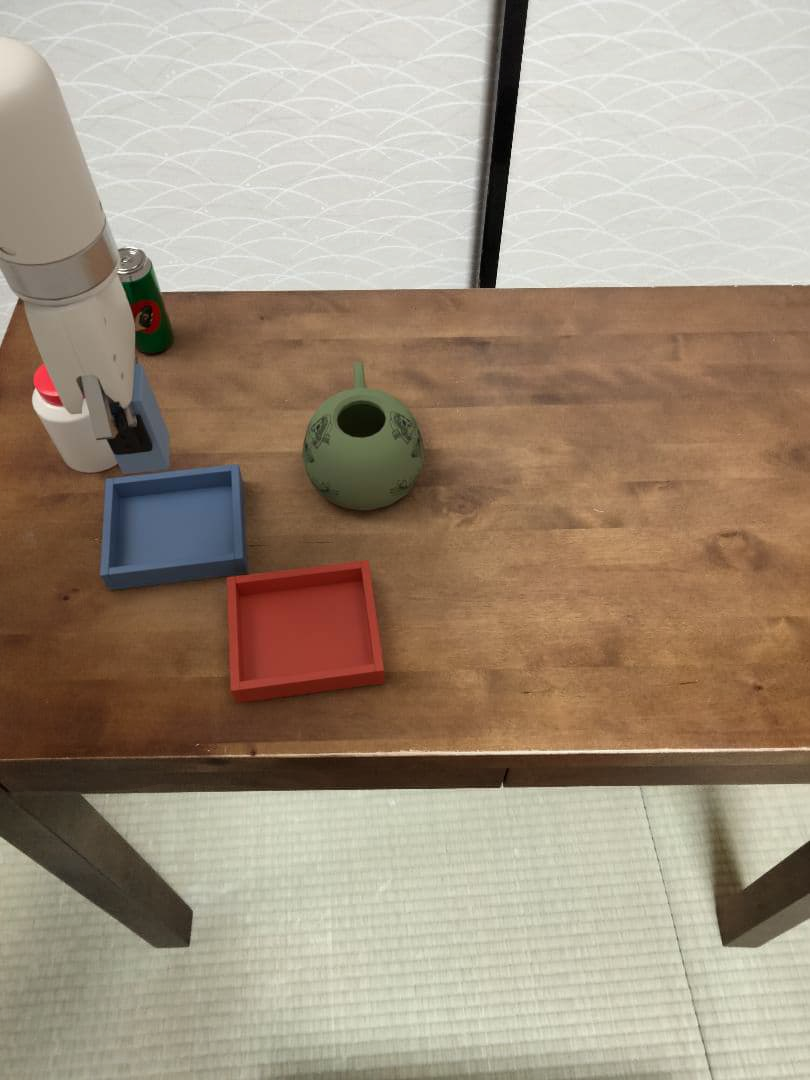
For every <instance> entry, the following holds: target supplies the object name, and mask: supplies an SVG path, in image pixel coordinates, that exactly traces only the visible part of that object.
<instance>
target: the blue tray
mask: <svg viewBox="0 0 810 1080" xmlns="http://www.w3.org/2000/svg"><path fill="white" fill-rule="evenodd" d="M244 489H245V488H244V479H243V475H242V471H241V468H240V464H239V463H235V464H234V463H233V464H225V465H224V464H223V465H217V466H207V467H197V468H190V469H189V468H188V469H181V470H173V471H163V472H155V473H144V474H137V475H129V476H119V477H112V478H111V477H110V478H105V488H104V503H103V519H102V538H101V552H100V567H99V568H100V569H99V576H100V579H102V581H103V583H104V584H105V586H106V587H107V589H108V591H116V590H117V591H118V590H124V589H125V590H126V589H132V588H133V589H134V588H139V587H140V588H141V587H149V586H157V585H165V584H172V583H173V584H174V583H182V582H188V581H189V582H190V581H198V580H205V579H213V578H222V577H232V576H240V575H248V573H249V569H248V548H247V547H248V546H247V531H246V510H245V509H246V507H245V492H244V491H245V490H244Z"/></svg>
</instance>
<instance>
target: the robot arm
mask: <svg viewBox="0 0 810 1080" xmlns="http://www.w3.org/2000/svg"><path fill="white" fill-rule="evenodd" d="M88 166H89V165H88V163H87V161H86V158H85V154H84V152H83V149H82V146H81V144H80V141H79V138H78V135H77V133H76V130H75V127H74V124H73V122H72V119H71V116H70V113H69V111H68V108H67V105H66V102H65V99H64V97H63V94H62V92H61V88H60V86H59V83H58V81H57V78H56V76H55V73H54V71H53V69H52V67H51V66H50V65H49V63H48V61H47V60H46V59H45V57H43V56H42V55H41V53H39V52H38V51H37V50H36V49H35V48H34V47H32V46H31V45H29V44H27V43H25V42H23V41H20V40H17V39H14V38H12V37H11V38H10V37H5V36H0V271H1V273H2V275H3V277H4V279H5V281H6V283H7V285H8V287H9V289H10V290H11V292H12V293H14V295H15V296H16V297H18V298H19V299H21V300H22V301H23V309H24V312H25V315H26V319H27V322H28V325H29V328H30V331H31V334H32V337H33V340H34V342H35V345H36V347H37V349H38V353H39V354H40V357H41V360H42V363H44V364H45V367H46V369H47V371H48V373H49V375H50V378H51V380H52V382H53V384H54V386H55V389H56V391H57V393H58V395H59V397H60V399H61V401H62V403H63V405H64V407H65V409H66V410H67V411H68V412H69V413H70V414H82V405H83V395H84V394H85V398H86V402H87V406H88V410H89V414H90V418H91V422H92V426H93V430H94V434H95V437H96V440H104V439H107V441H108V443H109V445H110V447H111V449H112V451H113V453H114V454H116V455H124V454H134V453H142V452H150V451H152V442H151V439H150V437H149V434H148V432H147V430H146V427H145V425H144V423H143V420H142V418H141V415H135V412H134V409H133V406H132V403H131V400H132V394H133V380H134V365H137V364H140V363H139V358H138V356H137V354H136V348H135V325H134V319H133V315H132V311H131V308H130V305H129V302H128V299H127V296H126V293H125V291H124V288H123V286H122V283H121V281H120V278H119V276H118V274H117V273H118V271H119V268H120V262H121V258H120V254H119V251H118V249H119V248H118V246H117V244H116V241H115V237H114V235H113V232H112V230H111V227H110V223H109V222H108V219H107V216H106V214H105V211H104V208H103V205H102V201H101V199H100V196H99V194H98V191H97V188H96V186H95V183H94V180H93V177H92V174H91V171H90V168H89V167H88ZM83 393H84V394H83ZM111 404H119V407H120V406H121V407H122V410H123V412H121V413H112V414H111V412H110V407H109V405H111Z"/></svg>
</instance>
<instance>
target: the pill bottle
mask: <svg viewBox="0 0 810 1080" xmlns="http://www.w3.org/2000/svg"><path fill="white" fill-rule="evenodd" d="M33 385H34V387H35V388H34V390H33V391H32V396H31V404H32V407H33V410H34V412H35V414H36V415H37V417H38V419H39V420H40V422H41V424H42V426H43V428H44V429H45V431H46V433H47V435H48V436H49V438H50V439H51V441H52V443H53V445H54V447H55V448H56V450H57V452H58V453H59V455H60V457H61V459H62V460H63V462H64V463H65V465H67V466H68V467H69V468H71V469H72V470H74V471H77V472H81V473H85V474H87V473H88V474H89V473H90V474H91V473H99V472H104V471H106V470H109V469H111V468H113V467H115V466H117V465H119V464H118V462H117V460H116V458H115V456H114V454H113V452H112V450H111V448H110V446H109V444H108V442H107V440H106V439H104V440H96V437H95V434H94V430H93V426H92V422H91V418H90V414H89V410H88V406H87V402H86V398H85V394H84V393H83V394H84V395H83V405H82V414H70V413H69V412H68V411H67V410H66V409H65V407H64V405H63V403H62V401H61V399H60V397H59V395H58V393H57V391H56V389H55V386H54V384H53V382H52V380H51V378H50V375H49V373H48V371H47V369H46V367H45V364H44V362H42V364H41V365H39V366H38V368H37V369H36V370H35V372H34V375H33Z"/></svg>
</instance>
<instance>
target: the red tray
mask: <svg viewBox="0 0 810 1080" xmlns="http://www.w3.org/2000/svg"><path fill="white" fill-rule="evenodd" d="M226 589H227V591H226V592H227V618H228V619H227V620H228V621H227V622H228V643H229V644H228V648H229V677H230V681H229V682H230V692H231V694H232V696H233V698H234V700H235V703H236V704H240V703H248V702H256V701H262V700H270V699H277V698H284V697H291V696H300V695H307V694H315V693H321V692H329V691H336V690H343V689H350V688H351V689H352V688H359V687H365V686H372V685H373V686H374V685H379V684H385V683H386V682H385V680H386V679H385V666H384V659H383V652H382V646H381V645H382V644H381V639H380V638H381V637H380V630H379V624H378V617H377V610H376V603H375V597H374V588H373V582H372V575H371V567H370V560H369V559H365V560H357V561H349V562H341V563H332V564H324V565H316V566H309V567H300V568H292V569H283V570H275V571H267V572H260V573H252V574H242V575H233V576H226Z"/></svg>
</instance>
